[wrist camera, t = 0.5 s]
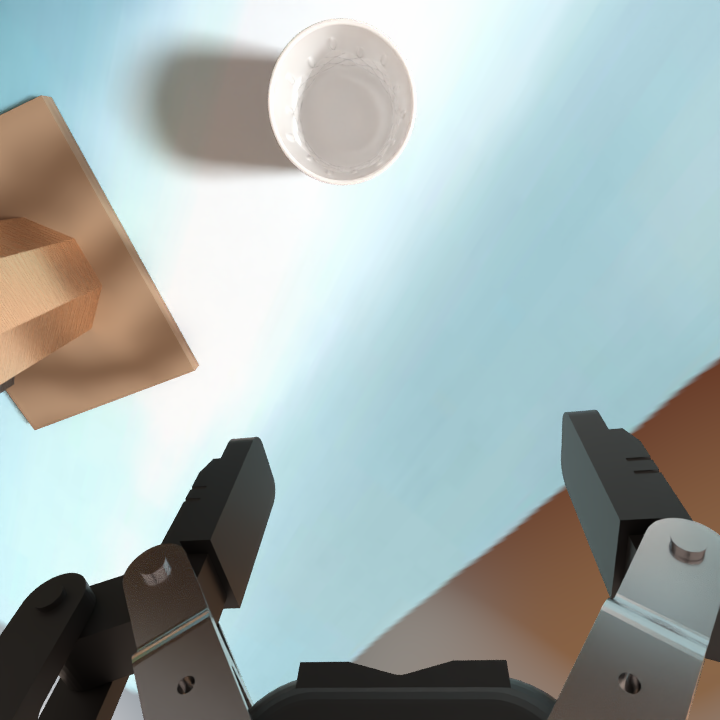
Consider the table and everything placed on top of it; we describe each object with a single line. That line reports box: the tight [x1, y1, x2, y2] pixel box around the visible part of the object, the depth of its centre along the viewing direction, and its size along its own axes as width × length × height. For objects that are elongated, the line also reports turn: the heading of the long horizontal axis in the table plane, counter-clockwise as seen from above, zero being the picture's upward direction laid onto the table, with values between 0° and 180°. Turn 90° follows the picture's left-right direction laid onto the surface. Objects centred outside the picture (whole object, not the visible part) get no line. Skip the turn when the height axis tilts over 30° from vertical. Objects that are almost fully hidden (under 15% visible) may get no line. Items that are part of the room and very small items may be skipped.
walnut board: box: [0, 95, 199, 430], centre depth 39 cm, size 22×16×1 cm
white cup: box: [268, 18, 416, 185], centre depth 31 cm, size 8×8×10 cm
